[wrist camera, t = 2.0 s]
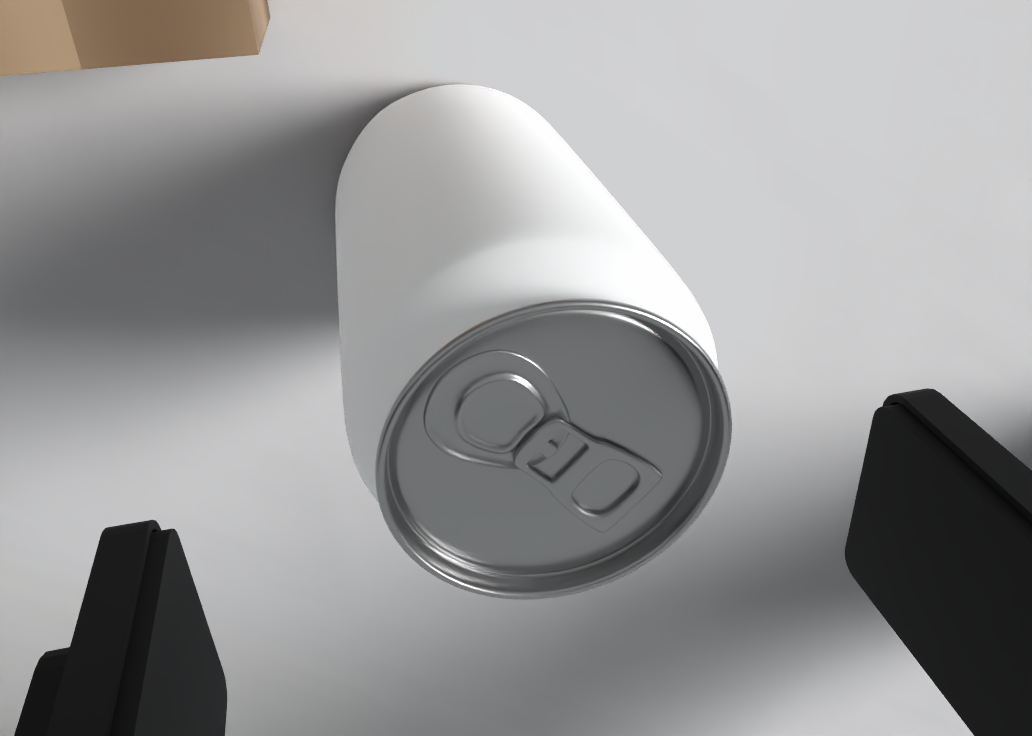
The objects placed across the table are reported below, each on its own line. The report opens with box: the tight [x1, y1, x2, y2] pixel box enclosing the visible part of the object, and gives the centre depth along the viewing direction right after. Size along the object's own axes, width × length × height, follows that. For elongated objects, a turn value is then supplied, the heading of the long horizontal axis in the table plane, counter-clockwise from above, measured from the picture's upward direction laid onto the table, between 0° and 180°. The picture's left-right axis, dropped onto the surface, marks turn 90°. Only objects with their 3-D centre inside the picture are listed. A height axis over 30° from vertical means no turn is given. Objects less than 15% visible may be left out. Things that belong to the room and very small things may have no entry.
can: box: [335, 84, 732, 599], centre depth 18 cm, size 6×6×12 cm
